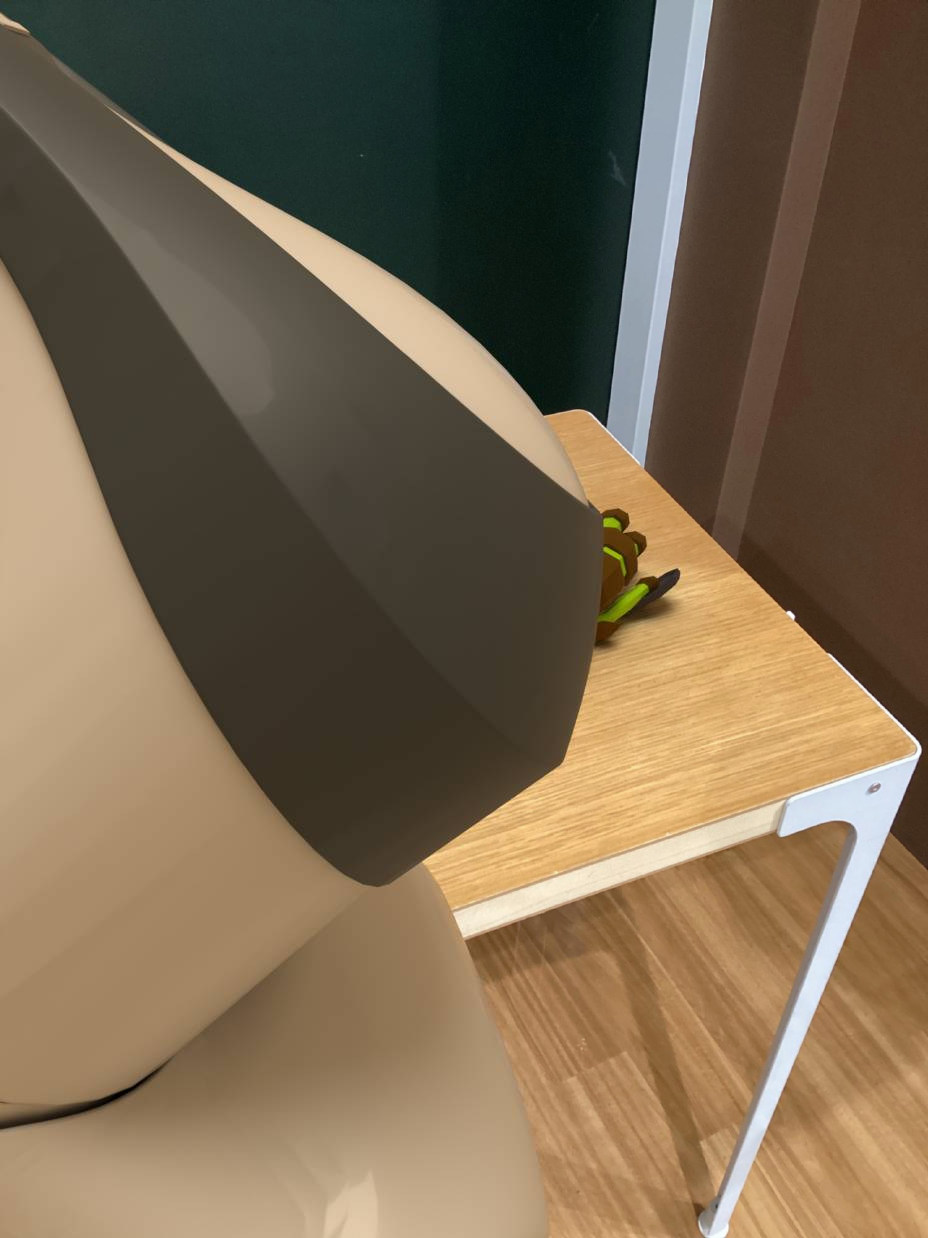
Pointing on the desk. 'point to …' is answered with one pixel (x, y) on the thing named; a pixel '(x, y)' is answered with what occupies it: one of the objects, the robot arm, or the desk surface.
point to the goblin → (625, 574)
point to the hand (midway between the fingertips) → (132, 497)
